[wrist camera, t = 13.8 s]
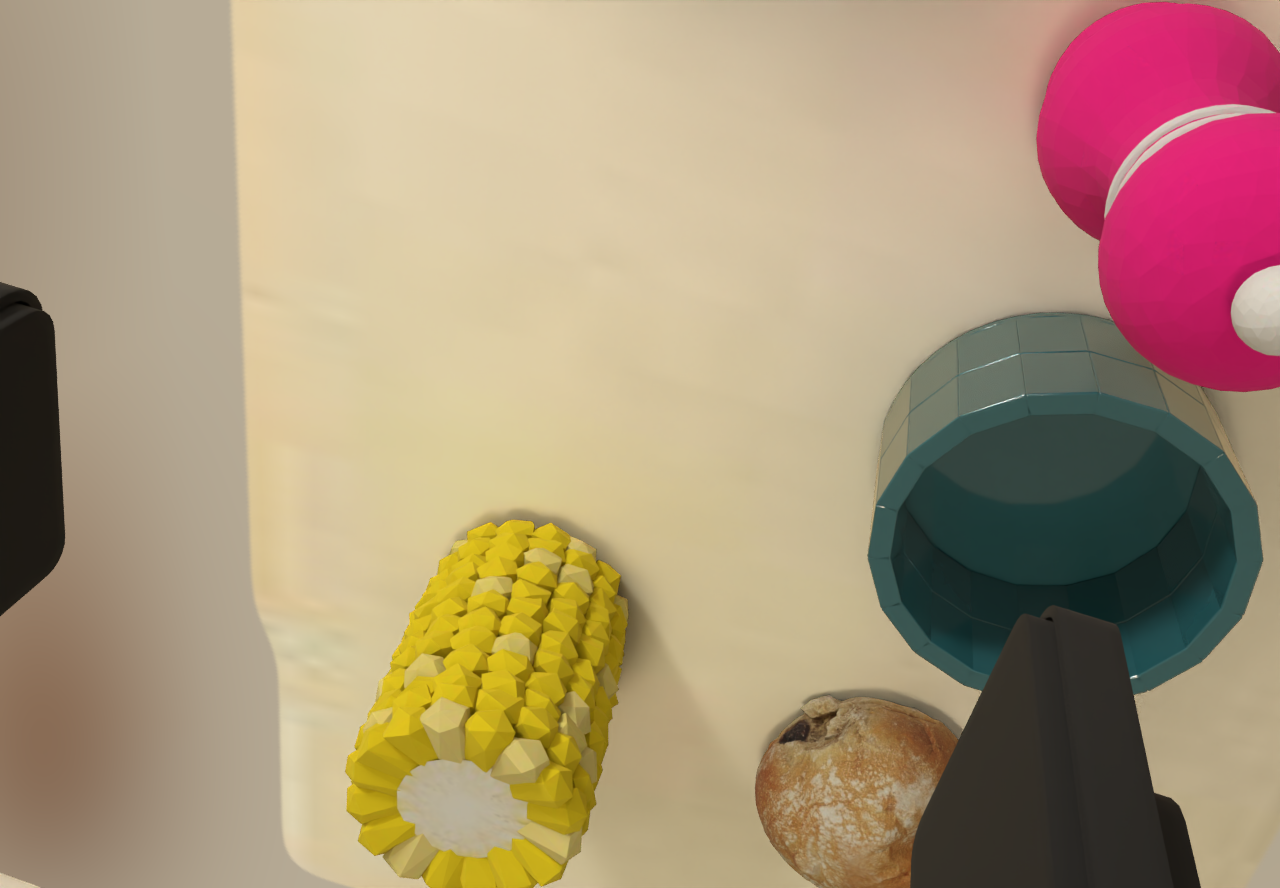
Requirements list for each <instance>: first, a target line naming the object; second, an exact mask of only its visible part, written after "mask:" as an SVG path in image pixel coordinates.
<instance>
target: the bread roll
mask: <svg viewBox="0 0 1280 888" xmlns="http://www.w3.org/2000/svg"><path fill="white" fill-rule="evenodd" d="M801 709H802V710H803V711H804V712H805V713H804V714H803V715H801V716H800V717H798V718H796V719H795V720H794V721H793V722H792V723H791V724H790V725H789V726H787V727H786V728H785V729H784V730H783V731H782V732H781V733H780V735H779V736H778V738H777V739H775V740H774V741H772V742H771V743H770V745H769V747H768V750H767V751H766V753H765V754H764V756H763V758H762V760H761V763H760V765H759V767H758V770H757V775H756V784H755V796H756V806H757V810H758V813H759V817H760V820H761V822H762V825H763V827H764V831H765V833H766V835H767V836H768V837H769V839H770V842H771V844H772V845H773V846H774V847H775V849H776V850H777V851H778V853H779V854H780V855H781V856H782V858H783V859H784V860H785V861H786V862H787V863H788V864H789V865H790V866H791V867H792V868H793V869H794V870H795V871H796V872H798V873H799V874H800V875H801V876H802V877H804V878H805V879H806V880H808V881H810V882H811V883H813V884H814V885H815V886H817V887H818V888H910V877H911V856H912V849H913V843H914V839H915V835H916V831H917V828H918V825H919V822H920V820H921V817H922V815H923V813H924V811H925V809H926V807H927V805H928V803H929V801H930V799H931V796H932V794H933V792H934V790H935V788H936V786H937V784H938V782H939V780H940V778H941V776H942V774H943V772H944V770H945V767H946V765H947V763H948V761H949V759H950V757H951V755H952V753H953V751H954V749H955V747H956V745H957V743H958V741H959V740H958V739H957V738H956V737H955V735H954V734H953V733H952V732H951V731H950V730H949V729H948V728H947V727H946V726H945V725H944V724H943V723H942V722H941V721H939V720H934V719H932V718H930V717H929V716H928V715H925V714H924V713H922V712H920V711H919V710H917V709H916V708H910V707H906V706H902V705H898V704H896V703H893V702H889V701H885V700H880V699H874V698H868V697H854V698H850V699H847V700H844V701H840V700H837V699H834V698H833V697H831V696H830V695H827V696H822V697H819V698H816V699H812V700H811V701H809V702H808V703H807V704H806V705H804V706H803V707H802V708H801Z"/></svg>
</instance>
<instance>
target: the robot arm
mask: <svg viewBox="0 0 1280 888" xmlns="http://www.w3.org/2000/svg"><path fill="white" fill-rule="evenodd" d="M64 544H65V525H64V506H63V486H62V467H61V447H60V429H59V409H58V389H57V369H56V351H55V331H54V325H53V321H52V319H51V317H50V315H48V314H47V313H46V312H44V311H42V306H41V304H40V302H39V300H38V298H37V296H35V295H34V294H33V293H31V292H30V291H28V290H24V289H21V288H18V287H15V286H11V285H8V284H5V283H1V282H0V616H1V615H2V614H3V613H4V612H5V611H6V610H8V609H9V608H10V607H11V606H12V605H14V604H15V603H16V602H17V601H18V600H20V599H21V598H22V597H23V596H24V595H25V594H27V593H28V592H29V591H30V590H31V589H32V588H34V587H35V586H36V585H37V584H38V583H39V582H40V581H42V580H43V579H44V578H45V577H46V576H47V575H48V574H49V573H50V572H51V571H52V570H53V569H54V567H55V566H56V564H57V563H58V561H59V559H60V557H61V554H62V552H63V548H64ZM0 888H41V887H38V886H36V885H33V884H30V883H27V882H24V881H22V880H19V879H16V878H13V877H10V876H7V875H5V874H2V873H0ZM910 888H1201V886H1200V882H1199V878H1198V873H1197V869H1196V865H1195V860H1194V856H1193V852H1192V848H1191V843H1190V839H1189V835H1188V830H1187V826H1186V822H1185V819H1184V817H1183V814H1182V811H1181V809H1180V806H1179V805H1178V804H1177V803H1176V802H1175V801H1173V800H1172V799H1171V798H1169V797H1165V796H1162V795H1159V794H1156V793H1154V791H1153V786H1152V781H1151V777H1150V772H1149V767H1148V762H1147V757H1146V753H1145V748H1144V743H1143V738H1142V733H1141V729H1140V724H1139V719H1138V714H1137V709H1136V705H1135V700H1134V695H1133V690H1132V685H1131V681H1130V676H1129V671H1128V666H1127V662H1126V657H1125V652H1124V647H1123V642H1122V638H1121V633H1120V631H1119V628H1118V626H1117V625H1115V624H1113V623H1110V622H1107V621H1104V620H1101V619H1097V618H1094V617H1091V616H1088V615H1084V614H1081V613H1078V612H1075V611H1071V610H1068V609H1065V608H1062V607H1058V606H1055V605H1052V606H1049V607H1048V608H1047V609H1046V610H1045V611H1044V612H1043V613H1042V615H1041V617H1040V618H1038V617H1035V616H1032V615H1029V614H1022V615H1021V616H1020V617H1019V618H1018V620H1017V621H1016V623H1015V625H1014V627H1013V629H1012V631H1011V633H1010V635H1009V637H1008V639H1007V641H1006V643H1005V645H1004V647H1003V649H1002V651H1001V654H1000V656H999V658H998V660H997V662H996V664H995V666H994V668H993V670H992V672H991V674H990V676H989V678H988V680H987V683H986V685H985V687H984V689H983V691H982V693H981V695H980V697H979V699H978V701H977V703H976V705H975V707H974V709H973V712H972V714H971V716H970V718H969V720H968V722H967V724H966V726H965V728H964V730H963V732H962V734H961V736H960V738H959V741H958V743H957V745H956V747H955V749H954V751H953V753H952V755H951V757H950V759H949V761H948V763H947V765H946V767H945V770H944V772H943V774H942V776H941V778H940V780H939V782H938V784H937V786H936V788H935V790H934V792H933V794H932V796H931V799H930V801H929V803H928V805H927V807H926V809H925V811H924V813H923V815H922V817H921V820H920V822H919V825H918V828H917V831H916V835H915V839H914V843H913V849H912V856H911V877H910Z"/></svg>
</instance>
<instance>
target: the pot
mask: <svg viewBox="0 0 1280 888" xmlns="http://www.w3.org/2000/svg"><path fill="white" fill-rule="evenodd" d="M868 562H869V565H870V569H871V573H872V577H873V580H874V584H875V588H876V592H877V595H878V599H879V603H880V607H881V608H882V610H883V611H884V613H885V614H886V615H887V617H888V618H889V619H890V621H891V622H892V623H893V625H894V626H895V627H896V629H897V630H898V631H899V633H900V634H901V635H902V637H903V638H904V639H905V641H906V642H907V643H908V645H909V646H910V647H911V649H912V650H913V651H915V653H916V654H918V655H919V656H921V657H922V658H924V659H925V660H927V661H928V662H930V663H931V664H933V665H934V666H936V667H937V668H939V669H940V670H941V671H943V672H944V673H946V674H947V675H949V676H950V677H952V678H953V679H955V680H956V681H958V682H959V683H961V684H963V685H964V686H968V687H971V688H974V689H977V690H980V691H983V689H984V687H985V685H986V683H987V680H988V678H989V676H990V674H991V672H992V670H993V668H994V666H995V664H996V662H997V660H998V658H999V656H1000V654H1001V651H1002V649H1003V647H1004V645H1005V643H1006V641H1007V639H1008V637H1009V635H1010V633H1011V631H1012V629H1013V627H1014V625H1015V623H1016V621H1017V620H1018V618H1019V617H1020V616H1021V615H1022V614H1029V615H1032V616H1035V617H1038V618H1040V617H1041V615H1042V613H1043V612H1044V611H1045V610H1046V609H1047V608H1048V607H1049V606H1052V605H1055V606H1058V607H1062V608H1065V609H1068V610H1071V611H1075V612H1078V613H1081V614H1084V615H1088V616H1091V617H1094V618H1097V619H1101V620H1104V621H1107V622H1110V623H1113V624H1115V625H1117V626H1118V628H1119V631H1120V633H1121V638H1122V642H1123V647H1124V652H1125V657H1126V662H1127V666H1128V671H1129V676H1130V681H1131V685H1132V690H1133V695H1135V694H1139V693H1144V692H1147V690H1148V691H1150V690H1152V689H1154V688H1155V687H1157V686H1159V685H1161V684H1163V683H1165V682H1166V681H1168V680H1170V679H1172V678H1174V677H1175V676H1177V675H1179V674H1181V673H1183V672H1184V671H1186V670H1188V669H1190V668H1192V667H1193V666H1195V665H1197V664H1199V663H1201V662H1202V661H1203V660H1204V659H1205V658H1206V657H1207V656H1208V655H1209V654H1210V653H1211V651H1212V650H1213V649H1214V648H1215V647H1216V646H1217V645H1218V644H1219V643H1220V642H1221V640H1222V639H1223V638H1224V637H1225V636H1226V635H1227V634H1228V633H1229V632H1230V630H1231V629H1232V628H1233V627H1234V626H1235V625H1236V624H1237V623H1238V622H1239V621H1240V619H1241V618H1242V615H1244V613H1245V611H1246V608H1247V605H1248V602H1249V599H1250V596H1251V594H1252V591H1253V588H1254V585H1255V582H1256V580H1257V577H1258V574H1259V571H1260V568H1261V565H1262V562H1263V553H1262V544H1261V534H1260V525H1259V516H1258V507H1257V504H1256V501H1255V499H1254V496H1253V494H1252V492H1251V489H1250V487H1249V485H1248V483H1247V480H1246V478H1245V476H1244V474H1243V471H1242V469H1241V467H1240V465H1239V462H1238V460H1237V458H1236V456H1235V454H1234V451H1233V449H1232V447H1231V444H1230V442H1229V440H1228V438H1227V435H1226V433H1225V431H1224V429H1223V426H1222V424H1221V422H1220V419H1219V417H1218V415H1217V413H1216V411H1215V409H1214V408H1213V406H1212V405H1211V403H1210V401H1209V400H1208V398H1207V396H1206V395H1205V393H1204V391H1203V389H1202V388H1201V386H1198V385H1194V384H1191V383H1188V382H1186V381H1183V380H1181V379H1178V378H1176V377H1173V376H1171V375H1169V374H1167V373H1165V372H1164V371H1162V370H1161V369H1159V368H1158V367H1156V366H1155V365H1153V364H1152V363H1151V362H1149V361H1148V360H1147V359H1146V358H1144V357H1143V356H1142V355H1141V354H1139V353H1138V352H1137V351H1136V350H1135V349H1134V348H1133V347H1132V346H1131V345H1130V343H1129V342H1128V341H1127V340H1126V339H1125V337H1124V336H1123V335H1122V333H1121V332H1120V330H1119V329H1118V328H1117V326H1116V325H1115V323H1114V322H1113V321H1111V320H1107V319H1102V318H1098V317H1093V316H1089V315H1082V314H1072V313H1036V314H1029V315H1021V316H1015V317H1011V318H1007V319H1003V320H999V321H995V322H992V323H989V324H987V325H984V326H982V327H979V328H976V329H974V330H971V331H969V332H968V333H966V334H964V335H962V336H960V337H958V338H956V339H954V340H952V341H951V342H949V343H948V344H947V345H945V346H944V347H942V348H941V349H939V350H938V351H937V352H935V353H934V354H933V355H932V356H931V357H929V358H928V359H927V360H926V361H925V362H924V363H923V364H922V365H921V366H919V367H918V369H917V370H916V371H915V372H914V373H913V374H912V376H911V377H910V378H909V379H908V380H907V382H906V383H905V384H904V386H903V387H902V389H901V391H900V392H899V394H898V395H897V397H896V398H895V400H894V402H893V405H892V407H891V409H890V411H889V414H888V415H887V417H886V418H885V421H884V425H883V432H882V438H881V445H880V451H879V457H878V464H877V471H876V481H875V490H874V500H873V509H872V518H871V528H870V537H869V546H868Z"/></svg>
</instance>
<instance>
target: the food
mask: <svg viewBox="0 0 1280 888" xmlns="http://www.w3.org/2000/svg"><path fill="white" fill-rule="evenodd" d="M620 577H621V576H620V575H619V574H618V573H617V572H616V571H615V570H614V569H613V568H612V567H611V566H610V565H608V564H606V563H604V562H602V561H600V560H598V561H596V549H595V548H593V547H591V546H590V545H588V544H586V543H585V542H583V541H580V540H578V539H576V538H573V537H571V536H570V535H569V534H567V533H566V532H564V531H563V530H561V529H560V528H558V527H557V526H555V525H554V524H552V523H549V524H547V525H544V526H542V527H539V528H537V529H535V526H534V524H533V522H532V521H522V520H509V521H506V522H505V523H504V524H503V525H501V526H500V527H497V526H496V525H494V524H493V523H491V522H490V523H487V524H485V525H482V526H480V527H477V528H475V529H473V530H470V531H468V532H467V540H459V541H456V542H455V544H454V545H453V547H452V549H451V552H450V555H449V556H447V557H445V558H443V559H442V560H440V561H439V567H438V574H437V576H435V577H432V578H430V581H429V584H428V586H427V589H426V592H425V593H424V594H423V595H422V596H423V597H422V598H421V600H420V601H419V602H418V603H417V605H416V606H415V610H414V611H413V612H411V613H410V614H409V617H410V625H408V627H407V629H406V630H405V632H404V636H403V638H402V641H401V644H400V645H399V646H398V648H397V649H396V651H395V652H394V654H393V655H392V660H393V661H392V662H391V663H390V665H391V669H390V671H389V672H388V674H387V675H386V676H385V677H384V678H383V679H381V680H380V681H379V683H378V689H377V695H376V701H375V702H376V703H375V704H374V706H373V707H372V709H371V710H370V711H369V713H368V719H367V722H366V723H365V724H364V725H362V726H361V727H360V730H359V734H358V737H357V740H356V744H355V749H356V751H354V752H353V753H351V754H350V755H348V759H347V764H346V770H345V772H346V774H347V775H348V776H349V778H350V779H351V780H352V781H351V782H352V785H351V786H350V787H348V788H347V812H348V813H350V814H351V815H352V816H353V817H354V818H355V819H356V820H357V821H359V822H360V823H361V824H362V827H361V831H360V835H359V838H358V842H359V843H361V844H362V845H363V846H364V847H365V848H366V849H368V850H369V851H370V852H371V853H372V854H373V855H374V856H376V855H380V854H384V853H385V854H384V855H383V858H384V859H385V861H386V862H387V863H388V864H389V865H390V867H391V868H392V869H393V870H394V871H395V873H396V874H397V875H398V876H399V877H403V878H412V879H419V878H420V877H421V876H422V877H423V879H424V881H425V883H426V884H427V885H428V886H429V887H430V888H533V887H534V886H535V885H536V884H537V883H539V885H540V886H541V887H542V886H544V885H547V884H549V883H552V882H554V881H557V880H560V879H561V878H562V875H563V873H564V870H565V868H566V865H567V863H568V860H569V859H571V858H572V857H574V856H575V855H577V854H578V853H580V852H581V837H582V836H583V835H584V834H585V832H586V831H587V830H588V825H589V817H590V810H591V809H592V808H593V807H594V806H595V805H596V800H595V794H594V790H595V789H596V786H597V784H598V781H599V778H600V776H601V773H602V771H603V769H602V766H601V764H602V761H603V758H604V755H605V752H606V749H607V746H608V723H609V721H610V720H611V719H612V708H613V707H614V706H615V705H617V704H618V700H617V696H616V692H617V691H618V690H619V688H618V686H617V685H618V681H619V678H620V674H621V671H622V669H621V668H620V667H619V666H620V665H622V660H623V656H624V652H623V650H624V643H625V633H626V630H625V628H626V627H627V625H628V624H627V620H628V617H629V614H628V599H625V598H623V597H621V596H619V595H617V592H618V587H619V582H620Z"/></svg>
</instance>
